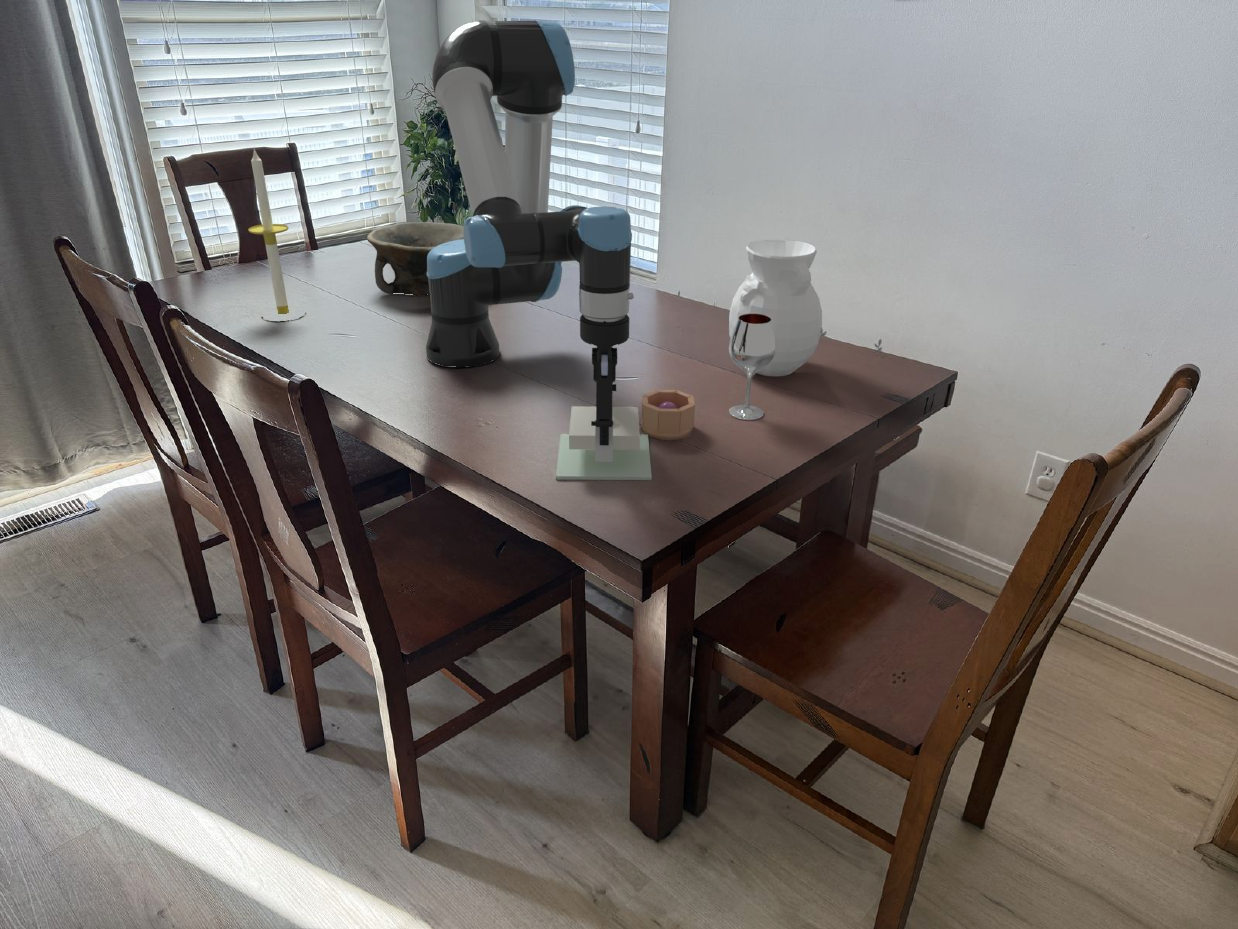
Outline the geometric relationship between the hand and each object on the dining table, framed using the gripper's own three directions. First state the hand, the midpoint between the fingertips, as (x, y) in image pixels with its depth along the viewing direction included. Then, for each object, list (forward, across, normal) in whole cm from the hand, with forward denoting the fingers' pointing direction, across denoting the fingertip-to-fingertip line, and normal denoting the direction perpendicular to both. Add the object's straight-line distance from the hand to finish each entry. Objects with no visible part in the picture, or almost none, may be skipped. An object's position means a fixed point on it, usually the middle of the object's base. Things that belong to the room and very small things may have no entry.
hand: (604, 444), depth 141 cm
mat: (+3, 0, 0) cm, 3 cm away
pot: (+3, +11, -11) cm, 16 cm away
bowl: (+2, +92, +46) cm, 103 cm away
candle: (+2, +71, +76) cm, 104 cm away
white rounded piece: (+3, +40, -34) cm, 53 cm away
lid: (-2, 0, 0) cm, 2 cm away
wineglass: (+3, +18, -26) cm, 32 cm away
